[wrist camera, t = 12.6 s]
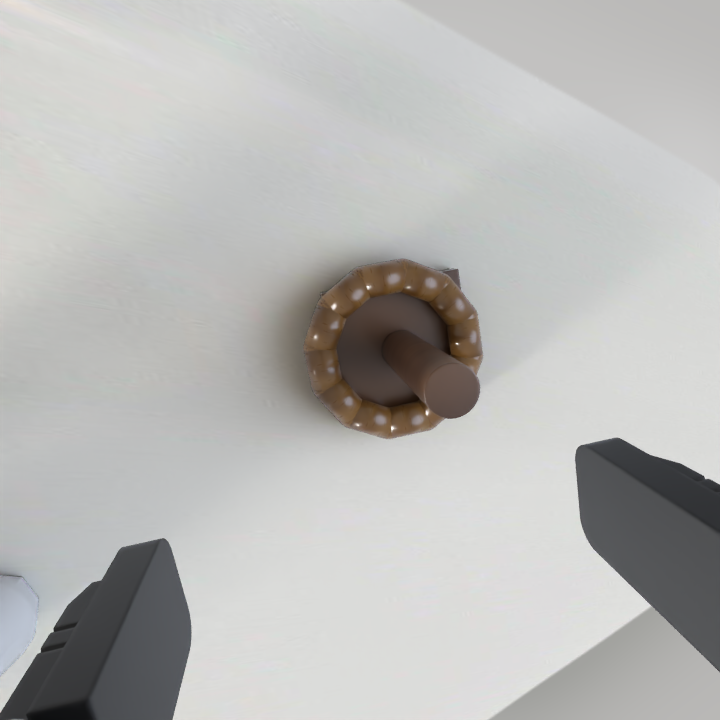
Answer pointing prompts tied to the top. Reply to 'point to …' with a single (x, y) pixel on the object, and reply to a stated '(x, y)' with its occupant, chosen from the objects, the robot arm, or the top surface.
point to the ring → (345, 302)
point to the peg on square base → (405, 356)
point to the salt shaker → (16, 619)
